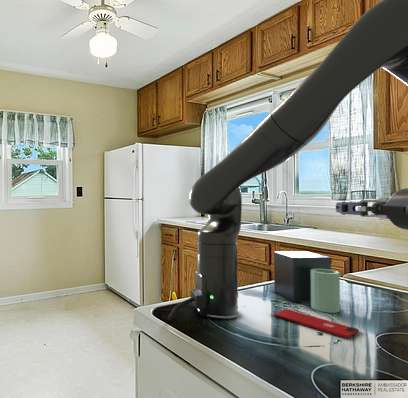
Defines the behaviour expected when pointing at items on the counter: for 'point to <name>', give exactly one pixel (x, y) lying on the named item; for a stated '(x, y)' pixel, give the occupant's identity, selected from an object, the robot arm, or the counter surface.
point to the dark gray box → (297, 273)
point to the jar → (325, 290)
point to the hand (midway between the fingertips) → (357, 207)
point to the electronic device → (317, 323)
